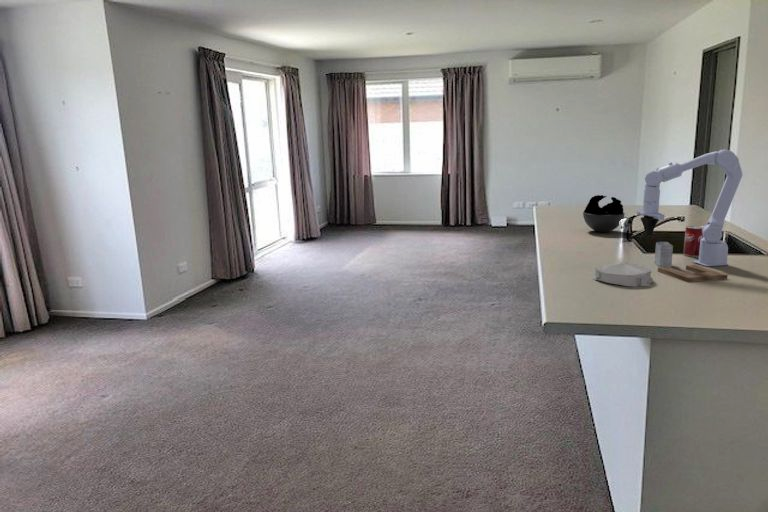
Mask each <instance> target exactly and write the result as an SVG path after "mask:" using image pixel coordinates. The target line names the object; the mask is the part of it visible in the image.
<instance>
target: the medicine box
mask: <svg viewBox="0 0 768 512" xmlns="http://www.w3.org/2000/svg"><path fill="white" fill-rule="evenodd" d="M673 248H674V246H673V244H671V243H669V242H668V241H656V242H655V250H654V264H655V265H657V267H670V268H672V262H673V251H674V249H673Z"/></svg>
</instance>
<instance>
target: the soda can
mask: <svg viewBox="0 0 768 512" xmlns="http://www.w3.org/2000/svg"><path fill="white" fill-rule="evenodd" d="M702 228H703V226H701V225H688V226H686V227H685V232H684V242H683V255H684V256H686V257H692V258H699V251H700V241H701V239H702V238H703V237H704V236H703V234H702Z"/></svg>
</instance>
